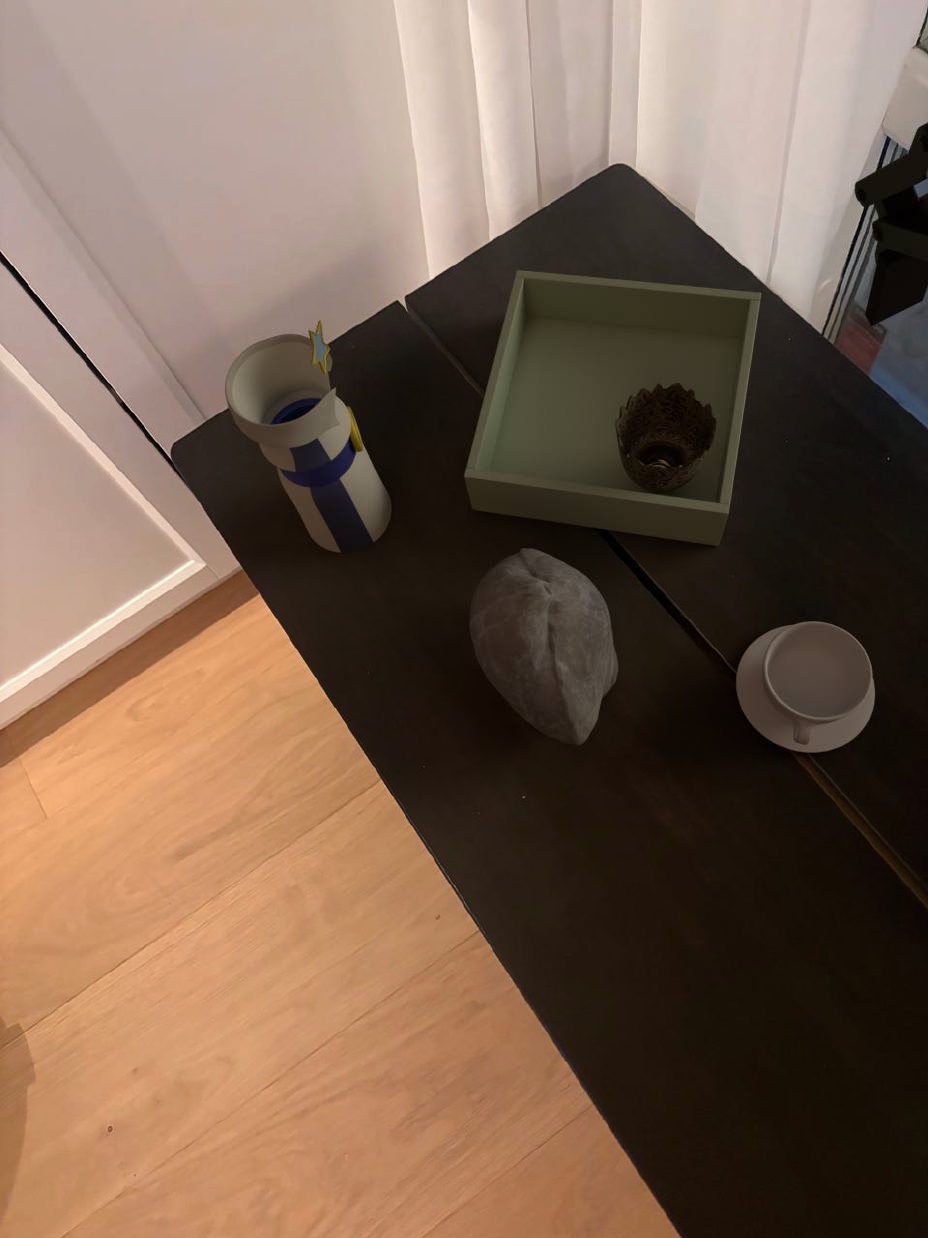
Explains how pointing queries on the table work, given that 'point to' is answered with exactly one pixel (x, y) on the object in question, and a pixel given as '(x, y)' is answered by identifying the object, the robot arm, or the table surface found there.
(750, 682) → the teacup
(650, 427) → the dark brown hollow vessel
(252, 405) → the white blue vase
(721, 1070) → the table surface
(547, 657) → the decorative stone
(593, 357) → the bin
